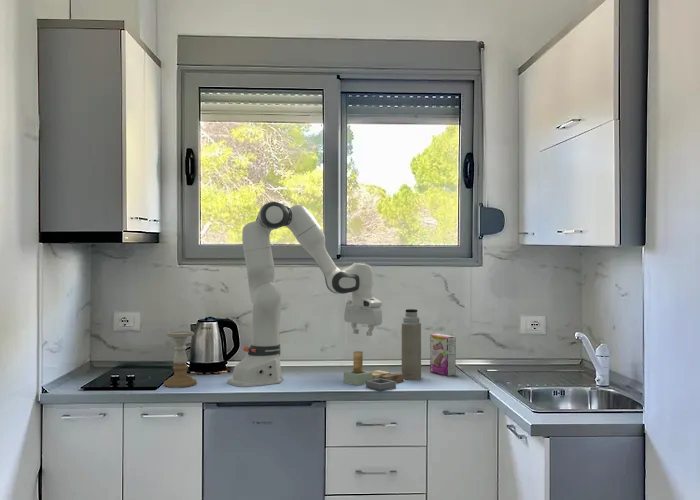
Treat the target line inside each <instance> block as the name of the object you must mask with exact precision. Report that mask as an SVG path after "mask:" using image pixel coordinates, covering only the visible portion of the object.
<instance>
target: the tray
mask: <svg viewBox="0 0 700 500" xmlns="http://www.w3.org/2000/svg"><path fill="white" fill-rule="evenodd" d="M396 385H397V383H396V381H391V380H387V379H382V378H380V379H374V380H369V381H366V384H365V388H366V389H370V390H373V391H378V392H383V391H387V390H392V389H396V387H397V386H396Z"/></svg>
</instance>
